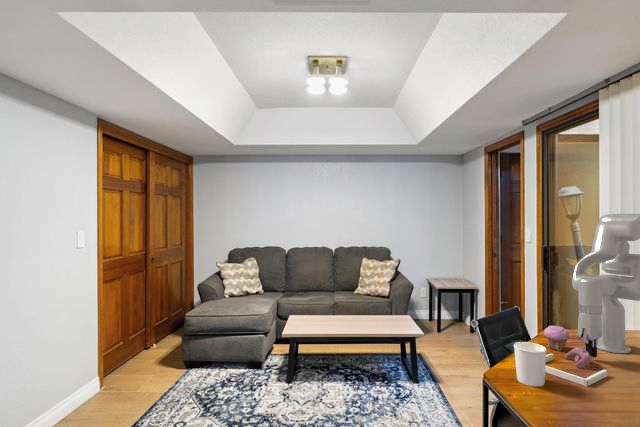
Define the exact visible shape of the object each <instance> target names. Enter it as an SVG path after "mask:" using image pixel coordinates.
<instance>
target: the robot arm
mask: <svg viewBox="0 0 640 427" xmlns="http://www.w3.org/2000/svg"><path fill="white" fill-rule="evenodd" d="M638 240H640V213H609V214H605V215H603V214H602V216H600V217H599V220H598V224H597V225H596V228H595V232H594V236H593V242H592V245H591V246H592V247H591V250H590V252H589V253H587V254H586V255H584V256H583V257H582V258H581V259H579V261H578V262H577V263H576V264H575V267H574V268H573V273H572V277H571V279H572V280H571V286H572V288H573V289H574V290H575V291H576V292H578V293H577V294H578V297H577V298H578V314H579V315H578V319H577V337H578V339H579V338H582V343H584V345H585V350H586V351H587V352H588V353H589V354H590V356H591V357H592V358H597V357H598V350H601V351H604V352H608V353H615V354H630V353H631V352H632V351H631V350H632V349H631V347H629V346H628V345H627V344H626V343H627V339H628V338H627V337H626V311H625V310H626V309H625V307H624V305H623V303H622V302H621V301H620V300H619V299H622V300H630V301H635V302H637V301H638V302H639V301H640V254H638V253H630V248H631V246H630V243H629V242H636V241H638ZM598 264H599V265H600V264H601V269H602V270H603V271H604V272H605V273H607V274H597V275H592V274H585V273H586V271H588V270H589V269H590V268H592V267H593V266H595V265H598Z"/></svg>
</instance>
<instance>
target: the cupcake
mask: <svg viewBox="0 0 640 427" xmlns="http://www.w3.org/2000/svg"><path fill="white" fill-rule="evenodd" d="M543 334H544V336H545V337H546V339H547V347H548V348H549V349H551V350H556V351H557V352H561V351H562V350H564V348H565V347H566V344H567V341H568V340H569V339H570V334H569V332H568V331H567V329H565V327H563V326H559V325H548V327H546V328H544V332H543Z"/></svg>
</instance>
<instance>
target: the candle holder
mask: <svg viewBox="0 0 640 427" xmlns="http://www.w3.org/2000/svg"><path fill="white" fill-rule="evenodd" d="M513 349H514V359H515V360H514V361H515V370H516V371H515V372H516V380H517V381H518V382H519V383H521V384H523V385H526V386H529V387H536V388H539V387H544V386H545V383H546V372H545V368H546V366H547V365H546V363H547V362H546V355H547V348H546V347H545V346H543V345H541V344H538V343H534V342H529V341H518V342H517V341H516V342H514V344H513Z"/></svg>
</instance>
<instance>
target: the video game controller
mask: <svg viewBox="0 0 640 427" xmlns="http://www.w3.org/2000/svg"><path fill="white" fill-rule="evenodd" d="M564 359H565V360H572V359H574V361H575V365H574V366H575V367H576V368H577V369H583V368H585V367H586V366H588V365H589V364H590V363H592V360H593V357H591V356H590V354H589V353H588V352H587V351H586V349H584V348H581V347H577V346H576V347H574V348H573V349H571V350H570V351H568V352H567V353H566V354H565V355H564Z"/></svg>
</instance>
